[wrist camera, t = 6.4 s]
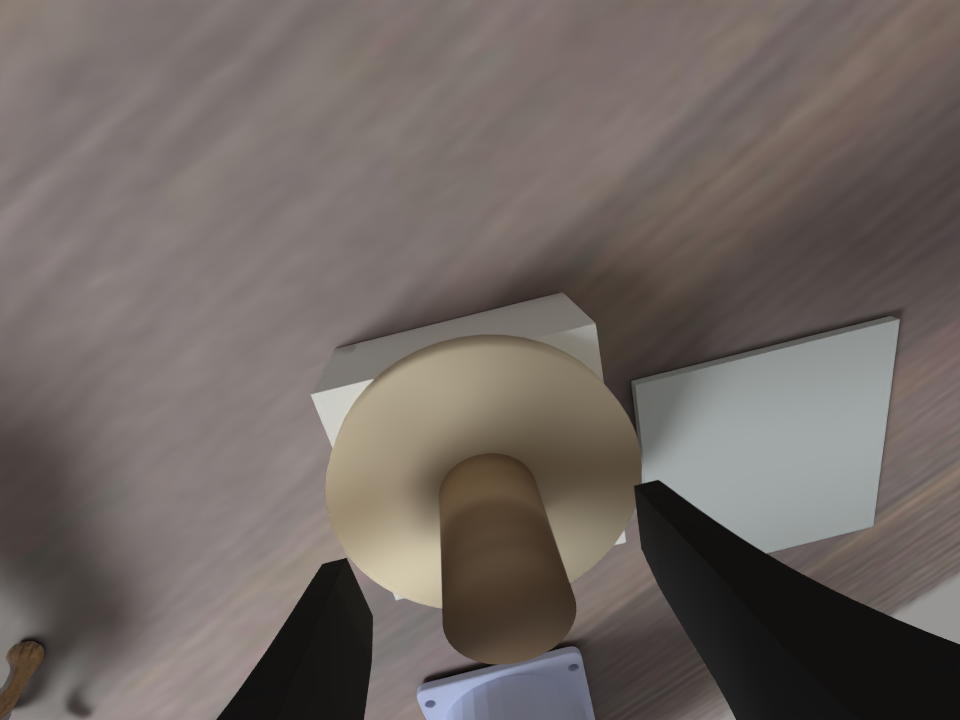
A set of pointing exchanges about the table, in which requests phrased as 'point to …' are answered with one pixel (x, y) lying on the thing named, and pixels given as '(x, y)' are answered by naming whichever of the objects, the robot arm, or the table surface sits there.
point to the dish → (530, 319)
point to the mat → (775, 434)
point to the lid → (485, 487)
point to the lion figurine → (19, 674)
